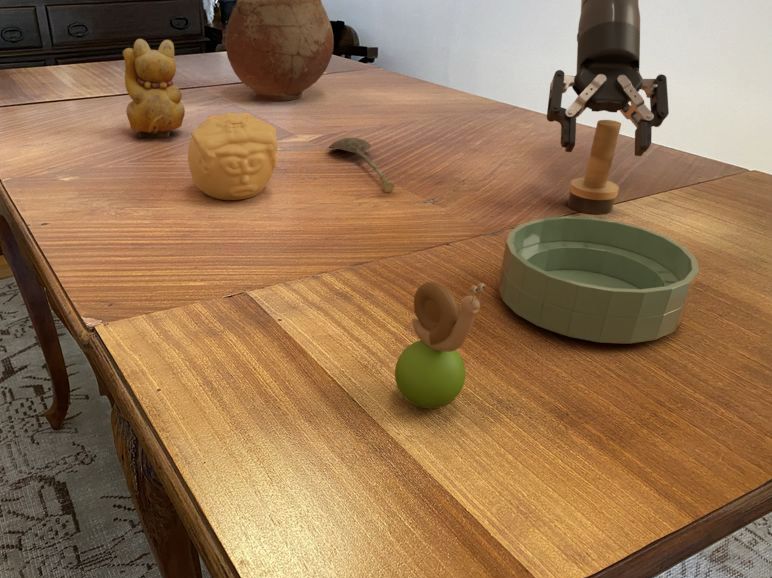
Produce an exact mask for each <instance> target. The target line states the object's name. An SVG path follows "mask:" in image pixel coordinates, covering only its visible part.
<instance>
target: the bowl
mask: <svg viewBox="0 0 772 578" xmlns="http://www.w3.org/2000/svg"><path fill="white" fill-rule="evenodd" d="M501 263H502V264H501V268H500V275H499V280H498V286H497V289H498V292H499V295H500V297H501V300H502V302H503V303H504V304H505V305H506V306H508V307H509V308H510V309H511V311H512V312H513V313H514V314H516V315H517V316H519V317H521V318H522V319H524V320H526V321H528V322H530V323H532V324H533V325H535V326H537V327H539V328H542V329H545V330H547V331H551V332H553V333H555V334H559V335H562V336H565V337H569V338H573V339H578V340H585V341H589V342H595V343H603V344H629V345H630V344H637V343H645V342H650V341H655V340H658V339H660V338H663V337H665V336H668V335H670V334H672V333H675V331H676V330H677V329H678V327H679V326H680V324H681V323H682V322H683V321H684V317H685V314H686V311H687V308H688V305H689V302H690V300H691V297H692V294H693V290H694V287H695V285H696V281H697V280H698V279H697V278H698V275H699V273H700V269H699V263H698V258H697V257H696V256H695V255H694V254H692V252H691V251H689V249H688V248H687V247H686V246H684V245H682V244H681V243H679V242H677V241H675V240H674V239H672V238H670V237H668V236H666V235H664V234H661V233H659V232H655V231H653V230H651V229H648V228H645V227H642V226H639V225H635V224H631V223H626V222H623V221H618V220H613V219H606V218H599V217H591V216H567V215H565V216H563V215H562V216H551V217H540V218H537V219H536V218H535V219H533V220H530V221H525V222H522V223H520V224H519V225H517V226H516V227H514V228H513V229H511V230H510V231H509V233H508V235H507V238H506V241H505V246H504V251H503V258H502V262H501Z"/></svg>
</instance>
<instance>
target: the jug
mask: <svg viewBox="0 0 772 578" xmlns="http://www.w3.org/2000/svg"><path fill="white" fill-rule="evenodd" d="M235 2H236V3H235V4H234V7H233V9H232V11H231V13H230V16H229V19H228V21H227V25H226V31H225V41H224V42H225V51H226V56H227V60H228V61H229V64H230V67H231V68H232V71H233V73H234V74H235V76H236V77H237V78H238V79H239V80H240V82H241V83H242V84H243V85H245V86H246V87H248V88H249V89H250V90H251V91H254V92H255V96H256V97H257V98H258V99H260V100H263V101H272V102H273V101H275V102H277V101H278V102H285V101H286V102H287V101H293V100H298V99H300V98H301V97H302V96H303V92H304V91H306V90H307V89H309V88H310V87H312V86H313V85H314V84H316V83H317V82H318V80H319V79H321V77H322V76H323V75H324V73H325V72H326V70H327V68H328V66H329V65H330V61H331V59H332V58H333V57H332V56H333V52H334V46H335V42H334V33H333V28H332V24H331V21H330V18H329V15H328V13H327V11H326V9H325V7H324V5H323V3H322V0H236V1H235Z"/></svg>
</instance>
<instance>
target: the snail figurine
mask: <svg viewBox="0 0 772 578" xmlns="http://www.w3.org/2000/svg"><path fill="white" fill-rule="evenodd" d="M484 290H486V284H485V283H483V282H480V283H478V284H477V285H475V284H473V285H472V286H470V288H469V291H470V292H471V293H472V295H466V296H464V297H463V298H462V299H461V301H460V305H459V306H458V303H457V300H456V299H455V296H454V295H453V293H452V292H451V291H450V290H449V289H448V288H447V286H445V285H444V284H442V283H440V282H437V281H426V282H424V283H422V284H421V285H420V286H419V287H418V288H417V290H416V291H415V293H414V297H413V309H414V313H415V316H416V318H412V320H411V323H412V328H413V330H414V332H415V334H416V336H417V337H418V339H419V340H417V341H415V342H413V343H411V344H409V345H408V346H407V347H406V348H404V349H403V351H402V352H401V353H400V355H399V356H398V358H397V361H396V362H395V363H396V364H395V367H394V368H395V369H394V379H395V383H396V386H397V389H398V390H399V393H400V394H401V395H402V396H403V398H405V400H406V401H408V402H409V403H411V404H412V405H414V406H416V407H419V408H422V409H437V408H442V407H444V406H446V405H449V404H451V403H452V402H454V400H455V399H456V398H457V397H458V396H459V394H460V393H461V392H462V389H463V388H464V385H465V380H466V367H465V363H464V360H463V358H462V356H461V355H460V353H459V352H458V351H457V350H458V349H460V348H461V347H462V346H463V345H464V343H465V342H466V340H467V339H468V337H469V335H470V333H471V331H472V328H473V325H474V323H475V318H476V316H477V314H478V313H479V312H480V308H481V302H480V300H481V297H482V291H484ZM478 291H479V297H476V296H475V294H477V293H478ZM459 309H460V310H459Z"/></svg>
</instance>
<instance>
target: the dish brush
mask: <svg viewBox="0 0 772 578" xmlns="http://www.w3.org/2000/svg"><path fill="white" fill-rule="evenodd" d="M621 128H622V123H621V122H620V121H617V120H612V119H600V120H597V122H596V127H595V132H594V136H593V140H592V145H591V149H590V152H589V153H590V154H589V157H588V160H587V161H588V162H587V166H586V170H585V175H584V176H583V177H578V178H577V177H576V178H574V179H572V180H570V184H569V187H568V191H569V196H568V201H567V206H568V207H569V208H570V209H572V210H573V211H576V212H580V213H583V214H588V215H604V214H608V213H611V211H612V210H613V207H614V203H615V199H616V198H617V197H618V194H619V190H620V186H619V185H618V184H617V183H616V182H613V181H611V180H609V176H610V171H611V167H612V163H613V160H614V154H615V151H616V148H617V143H618V139H619V136H620V131H621Z"/></svg>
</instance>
